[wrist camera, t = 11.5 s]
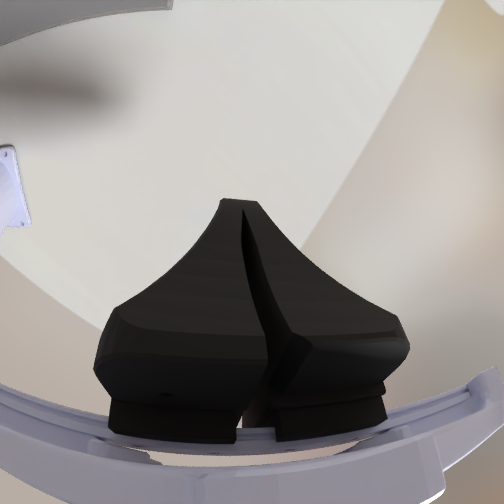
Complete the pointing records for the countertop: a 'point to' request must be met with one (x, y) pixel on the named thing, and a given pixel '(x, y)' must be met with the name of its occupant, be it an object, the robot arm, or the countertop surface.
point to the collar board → (62, 13)
